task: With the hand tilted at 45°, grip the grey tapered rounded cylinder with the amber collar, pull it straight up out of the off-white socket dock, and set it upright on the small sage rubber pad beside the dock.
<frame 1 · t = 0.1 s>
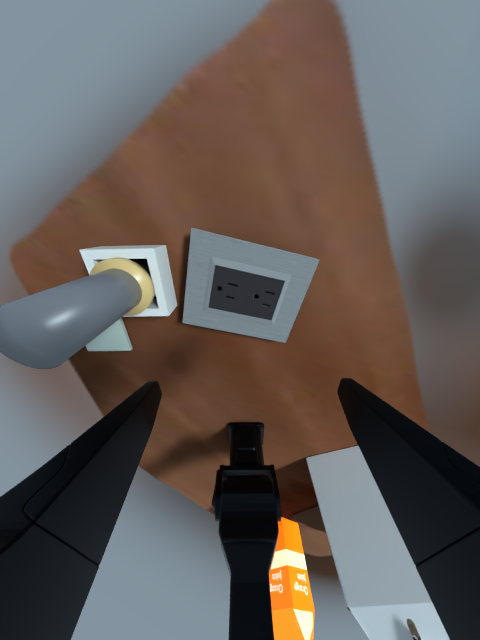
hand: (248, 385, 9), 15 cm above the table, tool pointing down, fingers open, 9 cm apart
gable box: (345, 472, 42), on the table
orange juice: (278, 523, 57), on the table
rubber pad: (104, 330, 25), on the table
socket dock: (141, 277, 21), on the table
electrical outlet: (244, 287, 23), on the table
grey tapered rounded cylinder: (105, 297, 16), in the socket dock
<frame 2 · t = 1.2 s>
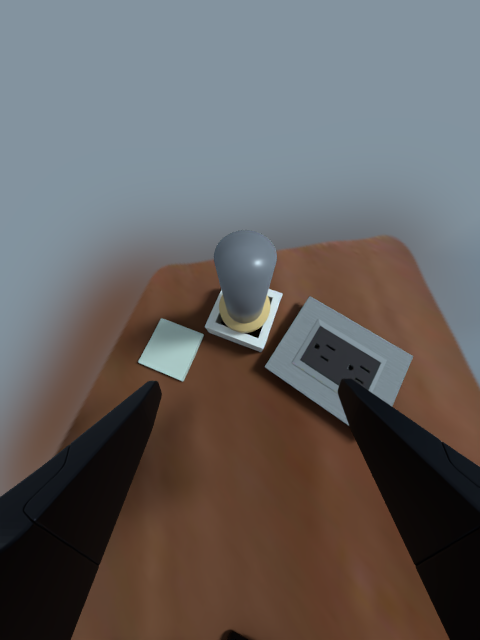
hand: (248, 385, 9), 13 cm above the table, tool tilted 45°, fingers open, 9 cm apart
rubber pad: (172, 348, 23), on the table
socket dock: (244, 317, 24), on the table
electrical outlet: (330, 363, 23), on the table
grey tapered rounded cylinder: (244, 297, 18), in the socket dock
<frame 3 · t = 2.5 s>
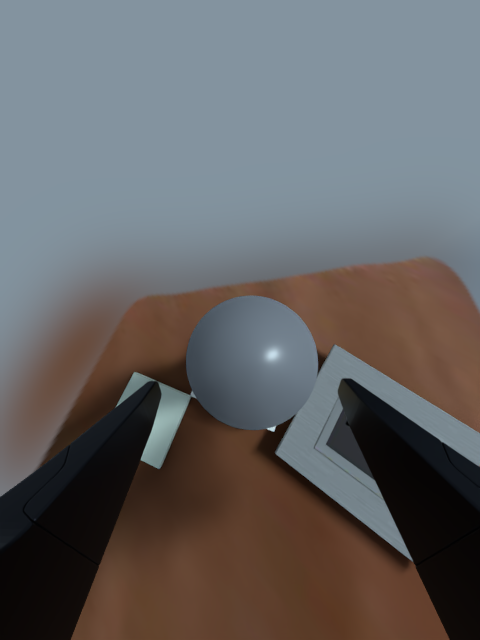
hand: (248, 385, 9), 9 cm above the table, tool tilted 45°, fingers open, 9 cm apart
rubber pad: (148, 416, 17), on the table
electrical outlet: (363, 436, 17), on the table
grey tapered rounded cylinder: (247, 367, 12), in the socket dock
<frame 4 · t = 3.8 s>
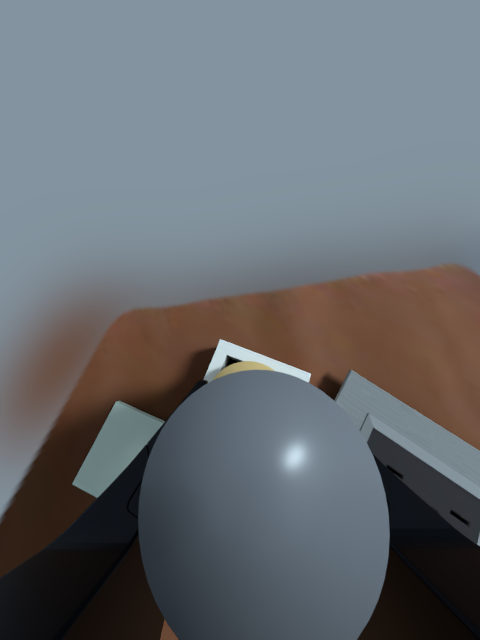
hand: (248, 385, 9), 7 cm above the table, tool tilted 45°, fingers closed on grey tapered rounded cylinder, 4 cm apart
rubber pad: (132, 454, 14), on the table
socket dock: (246, 399, 15), on the table
electrical outlet: (385, 479, 14), on the table
grey tapered rounded cylinder: (249, 414, 9), in the socket dock, touching gripper
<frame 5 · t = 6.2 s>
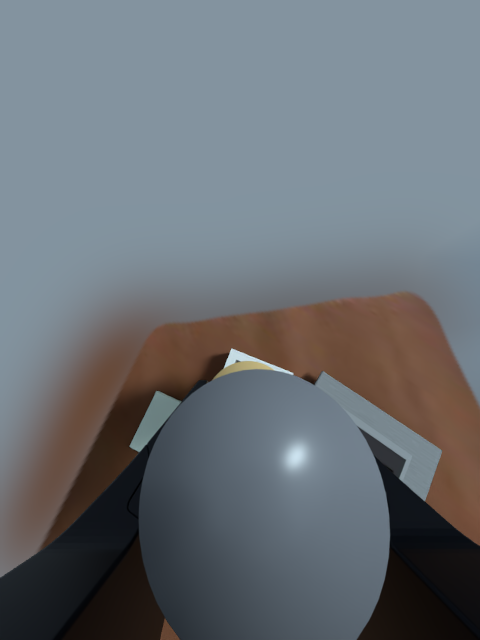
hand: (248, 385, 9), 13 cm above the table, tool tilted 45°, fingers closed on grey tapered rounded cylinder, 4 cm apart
rubber pad: (168, 428, 21), on the table
socket dock: (249, 390, 22), on the table
electrical outlet: (345, 447, 20), on the table
grey tapered rounded cylinder: (249, 414, 9), point 13 cm above the table, touching gripper
when the fingers open (8 cm above the table, at t = 8.5 s): grey tapered rounded cylinder stays where it is, resting on rubber pad.
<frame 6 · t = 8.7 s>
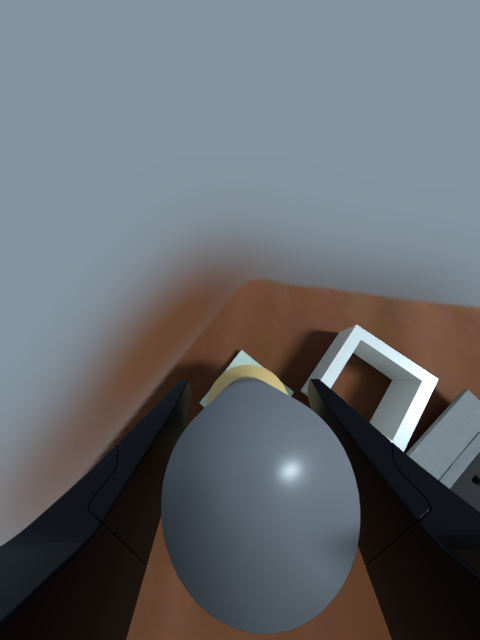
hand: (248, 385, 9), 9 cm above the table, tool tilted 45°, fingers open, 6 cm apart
rubber pad: (246, 396, 17), on the table
socket dock: (353, 384, 17), on the table
electrical outlet: (471, 498, 15), on the table
grey tapered rounded cylinder: (249, 416, 10), on the rubber pad
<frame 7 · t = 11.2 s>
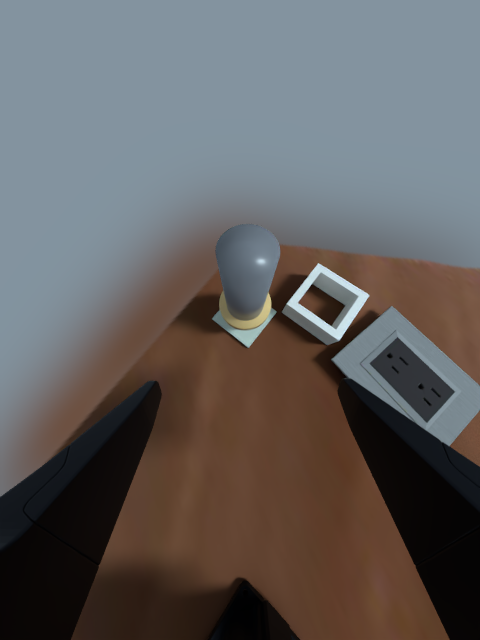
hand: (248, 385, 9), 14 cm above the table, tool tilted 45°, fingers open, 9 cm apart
rubber pad: (244, 316, 24), on the table
socket dock: (318, 308, 24), on the table
electrical outlet: (393, 377, 22), on the table
grey tapered rounded cylinder: (245, 294, 18), on the rubber pad
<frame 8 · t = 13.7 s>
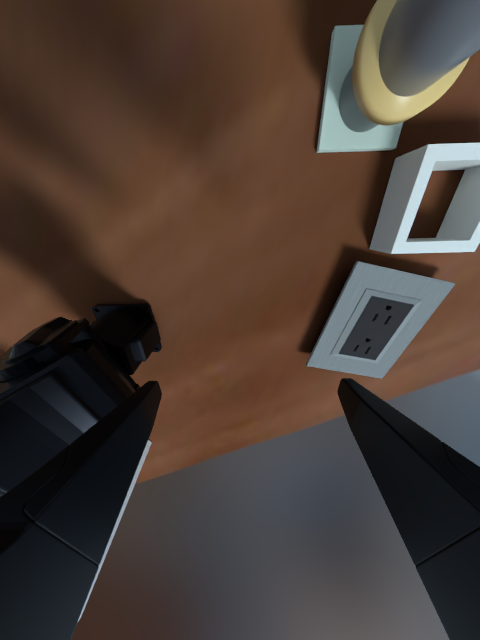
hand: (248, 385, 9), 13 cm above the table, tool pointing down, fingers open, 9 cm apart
gable box: (83, 436, 34), on the table
rubber pad: (364, 97, 13), on the table
socket dock: (420, 207, 17), on the table
electrical outlet: (360, 320, 23), on the table
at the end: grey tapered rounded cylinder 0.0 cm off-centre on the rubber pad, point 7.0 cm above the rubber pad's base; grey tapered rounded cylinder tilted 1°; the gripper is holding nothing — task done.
